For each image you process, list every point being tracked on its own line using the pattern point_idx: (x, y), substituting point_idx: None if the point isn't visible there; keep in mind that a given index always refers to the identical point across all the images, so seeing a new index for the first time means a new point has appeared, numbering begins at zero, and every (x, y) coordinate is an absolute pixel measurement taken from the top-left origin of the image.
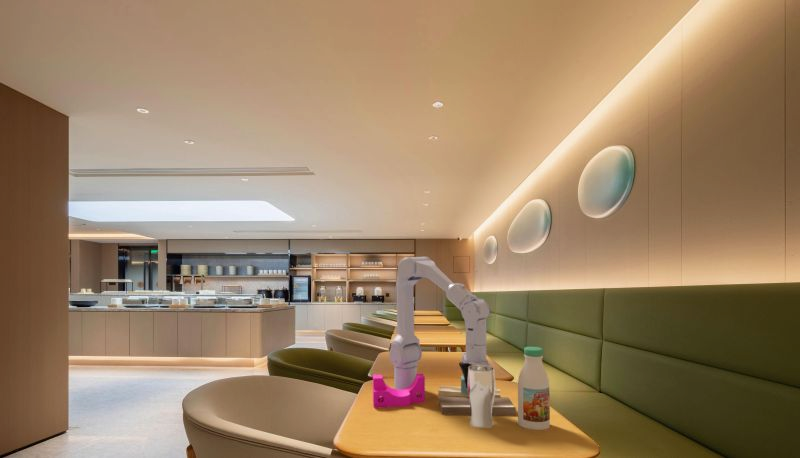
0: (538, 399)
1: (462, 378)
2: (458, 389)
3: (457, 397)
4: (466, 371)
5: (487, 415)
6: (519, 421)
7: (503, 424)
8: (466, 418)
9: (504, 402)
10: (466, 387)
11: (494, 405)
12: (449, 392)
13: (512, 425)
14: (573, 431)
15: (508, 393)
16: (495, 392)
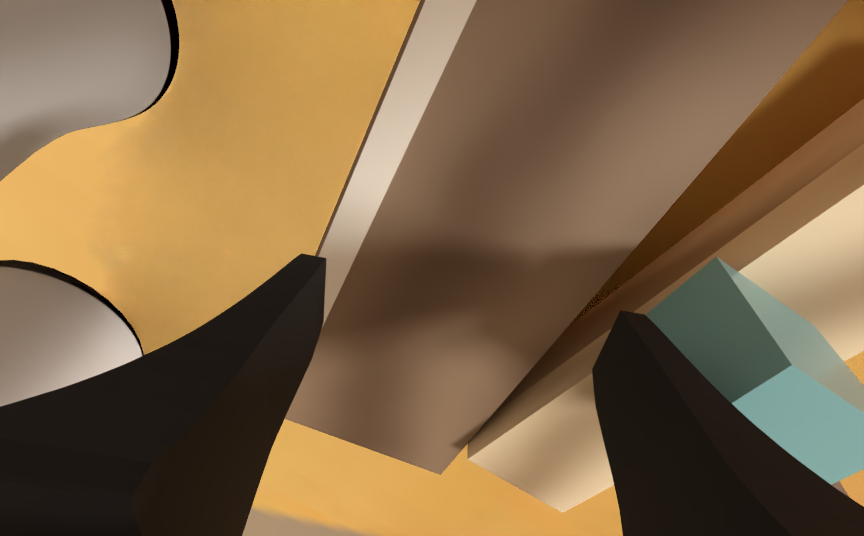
0: None
1: (805, 397)
2: (823, 296)
3: (685, 176)
4: (704, 496)
5: None
6: (3, 286)
7: (126, 214)
8: (314, 10)
9: (362, 409)
10: (644, 315)
11: (333, 327)
12: (860, 176)
13: (102, 254)
14: None
15: (594, 522)
16: (531, 465)
